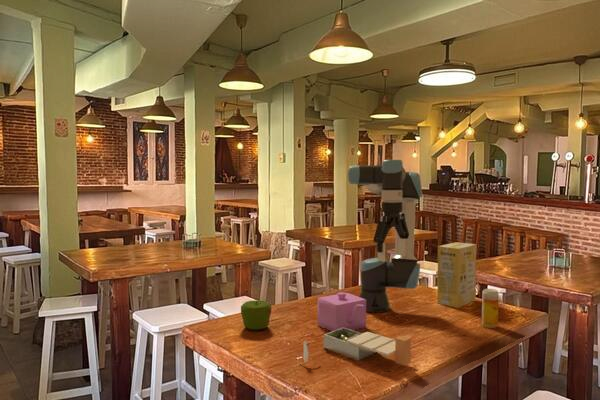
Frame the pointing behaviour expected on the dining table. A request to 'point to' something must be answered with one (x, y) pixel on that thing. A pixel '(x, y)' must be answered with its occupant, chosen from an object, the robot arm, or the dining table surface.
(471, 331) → the dining table surface
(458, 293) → the pasta box
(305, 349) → the stand
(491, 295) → the beer can
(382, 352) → the lid
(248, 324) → the apple
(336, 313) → the purple knobbed cube
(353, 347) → the grey rectangular box
